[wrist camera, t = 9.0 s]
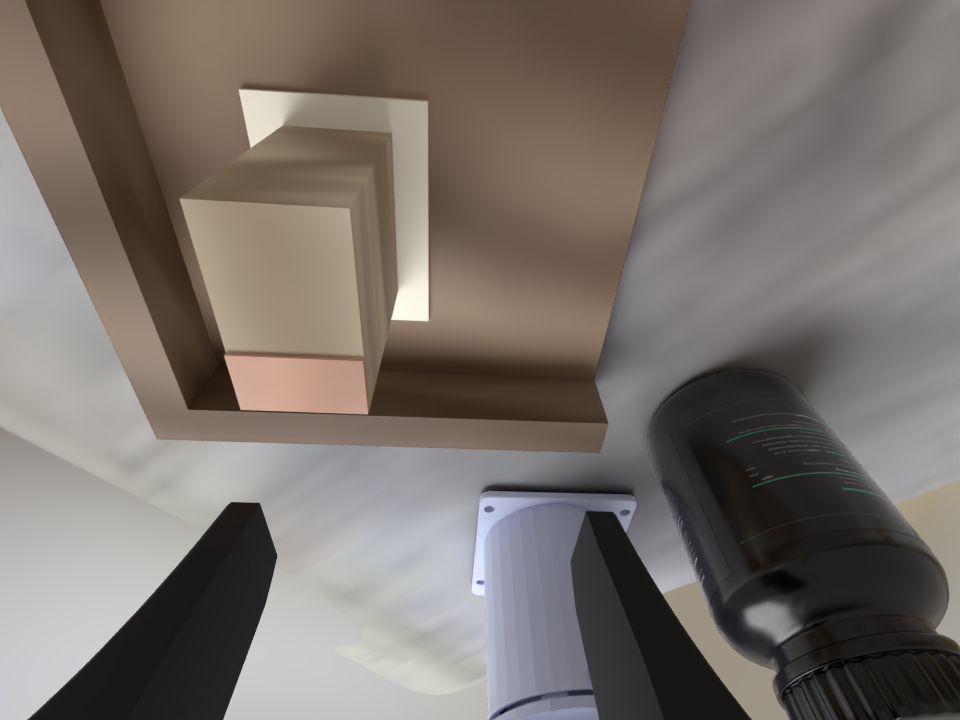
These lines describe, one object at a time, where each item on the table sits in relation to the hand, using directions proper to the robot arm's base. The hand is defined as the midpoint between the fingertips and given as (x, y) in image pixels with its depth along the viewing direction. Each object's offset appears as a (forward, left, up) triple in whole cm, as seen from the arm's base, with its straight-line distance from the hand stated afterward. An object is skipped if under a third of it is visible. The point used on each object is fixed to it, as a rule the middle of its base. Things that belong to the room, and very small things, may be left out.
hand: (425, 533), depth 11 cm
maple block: (+4, +3, -8) cm, 10 cm away
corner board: (+4, +2, -9) cm, 10 cm away
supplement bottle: (-5, -13, -10) cm, 17 cm away
